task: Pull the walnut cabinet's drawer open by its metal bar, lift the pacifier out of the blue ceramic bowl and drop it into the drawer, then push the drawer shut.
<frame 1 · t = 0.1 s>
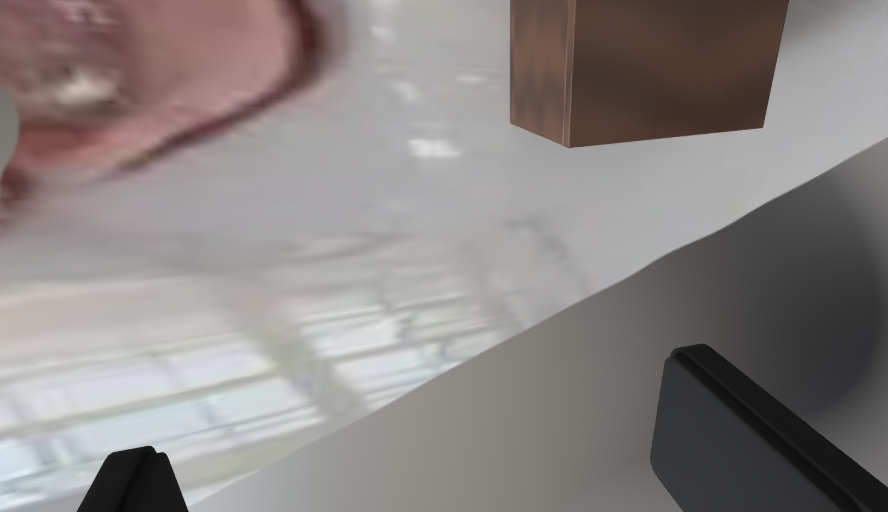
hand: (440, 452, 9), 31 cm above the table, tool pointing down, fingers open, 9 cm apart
cabinet: (596, 2, 37), on the table
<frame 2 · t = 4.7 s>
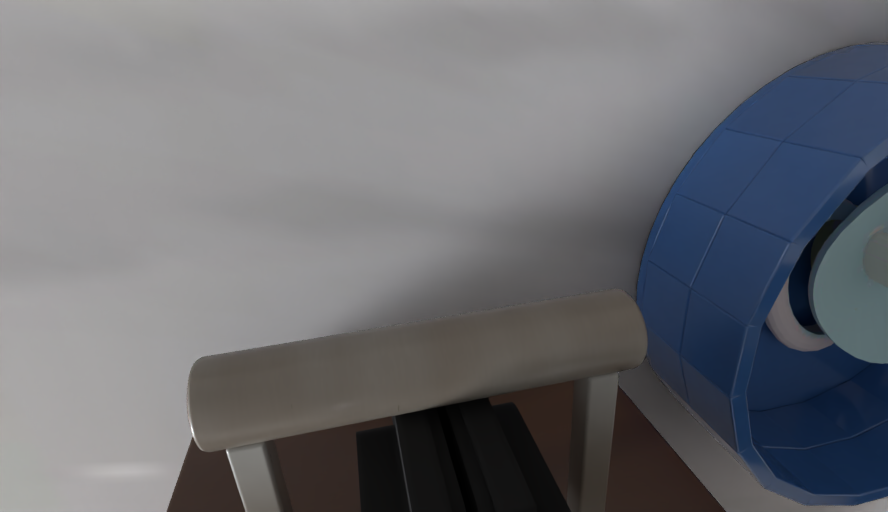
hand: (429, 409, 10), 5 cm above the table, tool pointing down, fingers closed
bowl: (814, 255, 17), on the table
pacifier: (819, 257, 17), resting on bowl
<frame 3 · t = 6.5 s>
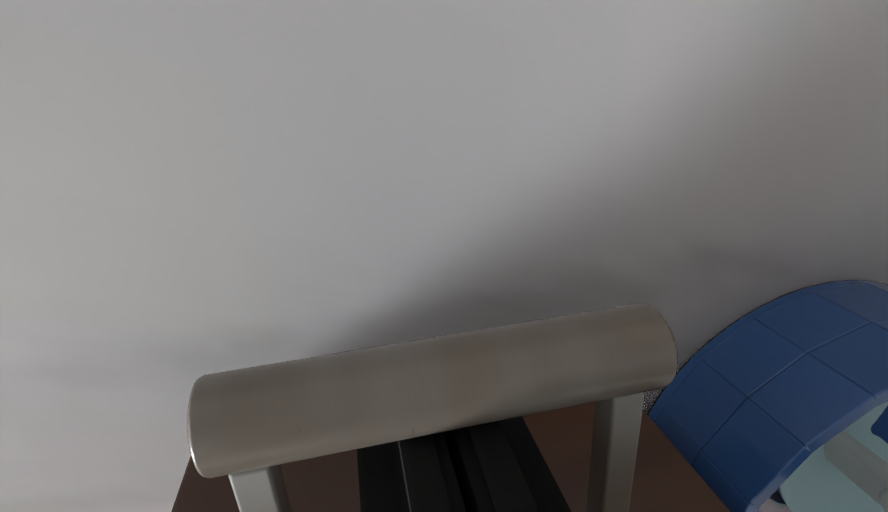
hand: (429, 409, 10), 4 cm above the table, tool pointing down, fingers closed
bowl: (784, 433, 20), on the table
pacifier: (788, 437, 20), resting on bowl
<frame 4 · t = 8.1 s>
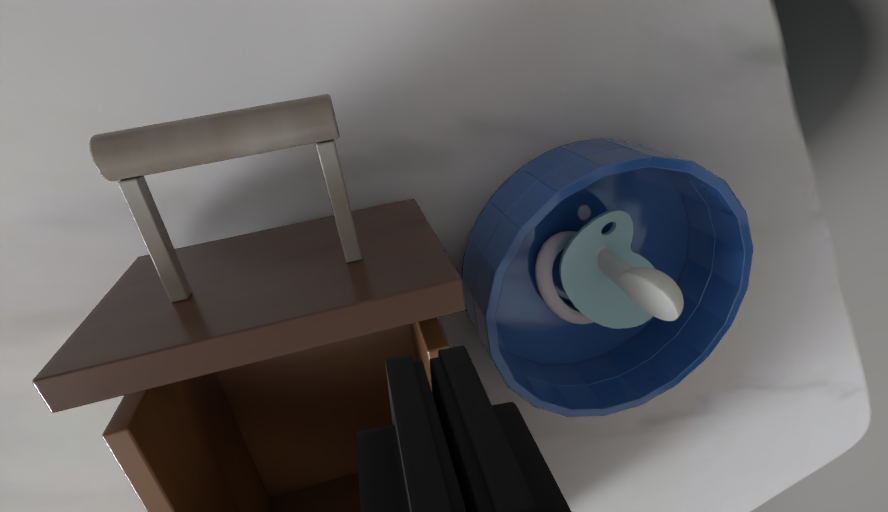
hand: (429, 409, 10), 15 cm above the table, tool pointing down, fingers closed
drawer: (307, 369, 20), point 5 cm above the table, slide at 10.7 cm
bowl: (581, 263, 28), on the table
pacifier: (582, 265, 28), resting on bowl
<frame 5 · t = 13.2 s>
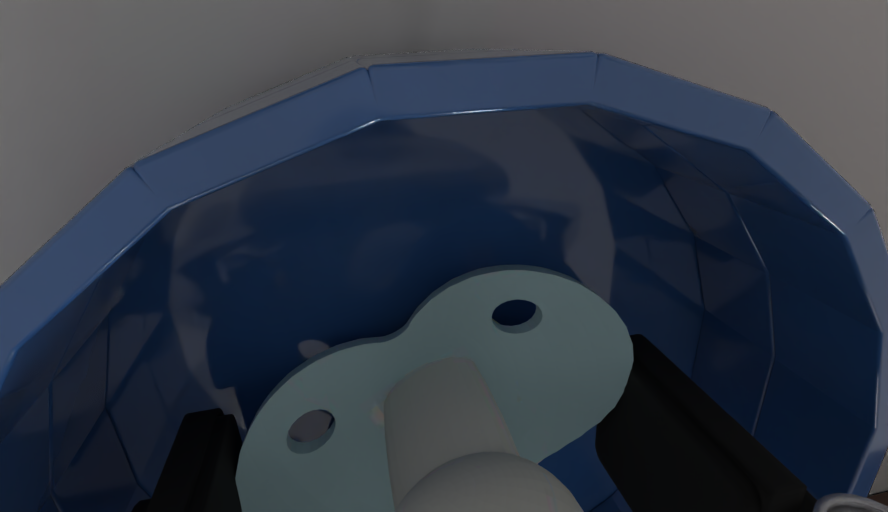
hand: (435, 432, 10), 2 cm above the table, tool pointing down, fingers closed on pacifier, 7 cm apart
bowl: (435, 378, 11), on the table
pacifier: (439, 384, 11), resting on bowl, touching gripper
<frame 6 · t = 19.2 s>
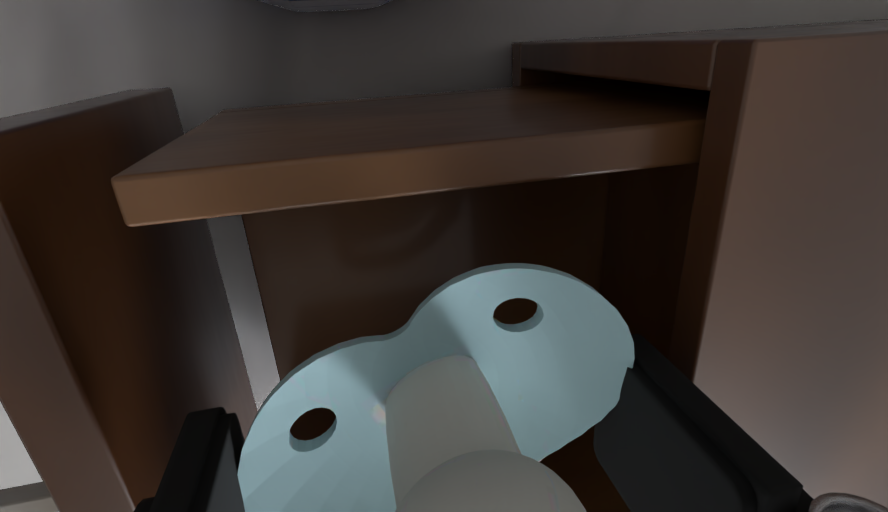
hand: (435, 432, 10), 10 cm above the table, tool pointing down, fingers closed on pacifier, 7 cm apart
drawer: (332, 327, 13), point 5 cm above the table, slide at 10.7 cm
cabinet: (698, 205, 21), on the table
pacifier: (440, 382, 11), point 8 cm above the table, touching gripper
when the fingers open (11 cm above the table, at t = 30.2 s): pacifier drops 8 cm, resting on drawer.
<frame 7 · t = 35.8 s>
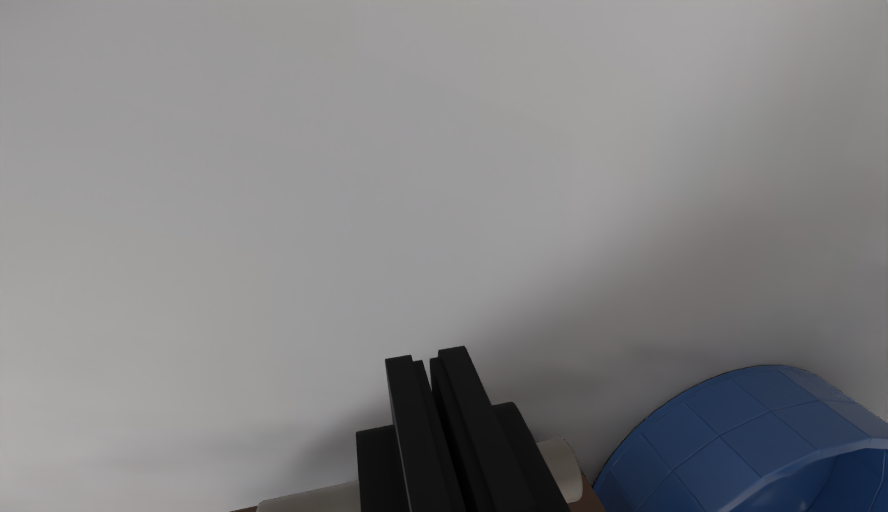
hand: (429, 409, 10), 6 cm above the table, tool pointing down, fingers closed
bowl: (716, 484, 24), on the table
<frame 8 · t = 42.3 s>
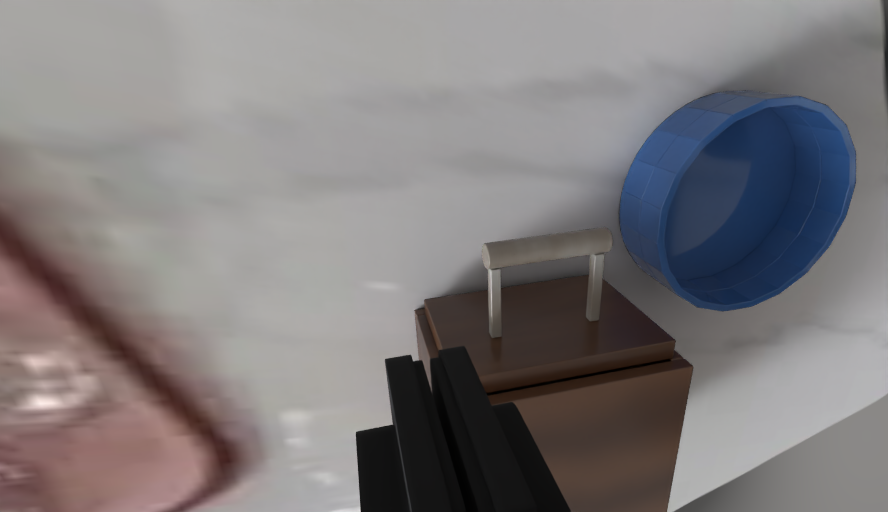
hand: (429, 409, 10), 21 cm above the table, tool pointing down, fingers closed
drawer: (536, 383, 31), point 5 cm above the table, slide at 0.0 cm, touching pacifier
bowl: (709, 193, 35), on the table
cabinet: (509, 389, 38), on the table
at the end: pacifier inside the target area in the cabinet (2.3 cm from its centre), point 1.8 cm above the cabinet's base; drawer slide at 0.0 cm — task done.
